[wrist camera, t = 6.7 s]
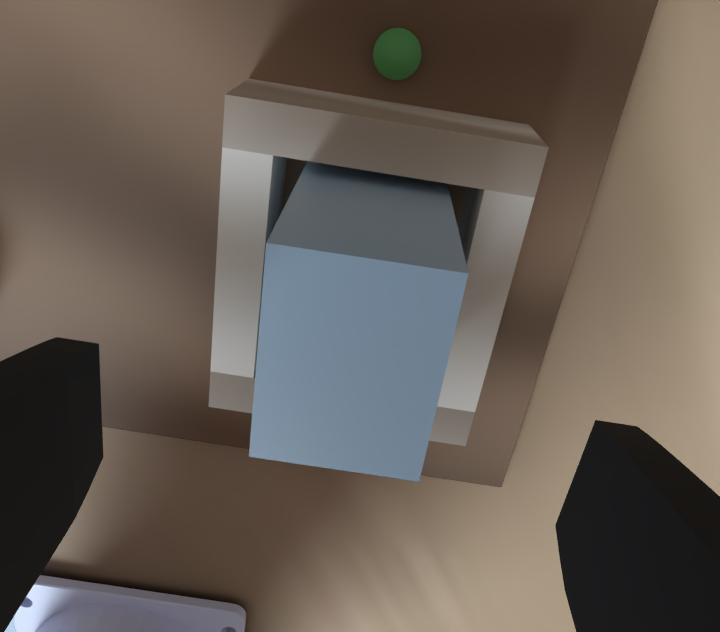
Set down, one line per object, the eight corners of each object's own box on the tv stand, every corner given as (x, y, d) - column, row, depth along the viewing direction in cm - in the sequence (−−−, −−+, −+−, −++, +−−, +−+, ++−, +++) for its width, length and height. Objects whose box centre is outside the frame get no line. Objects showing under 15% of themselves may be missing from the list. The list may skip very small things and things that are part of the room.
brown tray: (498, 473, 20) (512, 545, 17) (-245, 359, 19) (-341, 416, 17) (649, -8, 14) (705, -4, 11) (-419, -187, 13) (-607, -225, 11)
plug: (412, 322, 17) (419, 481, 12) (296, 305, 17) (248, 457, 12) (444, 169, 15) (468, 273, 10) (313, 148, 15) (266, 242, 10)
